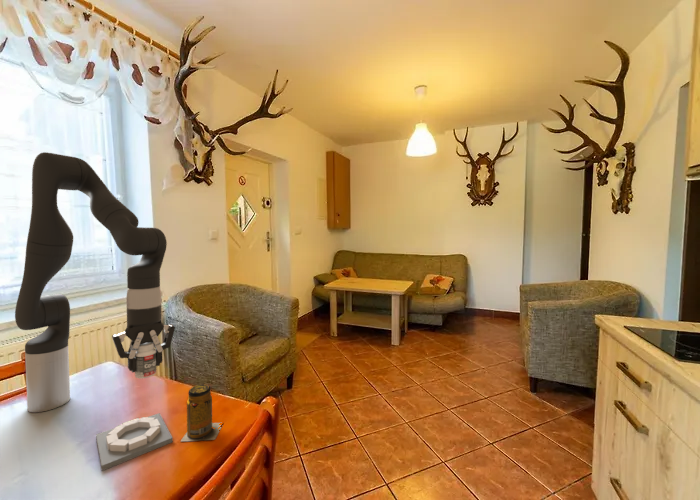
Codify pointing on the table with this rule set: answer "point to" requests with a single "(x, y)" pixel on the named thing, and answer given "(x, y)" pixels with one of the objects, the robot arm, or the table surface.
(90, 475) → the table surface
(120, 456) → the socket board
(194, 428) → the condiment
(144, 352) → the pill bottle
